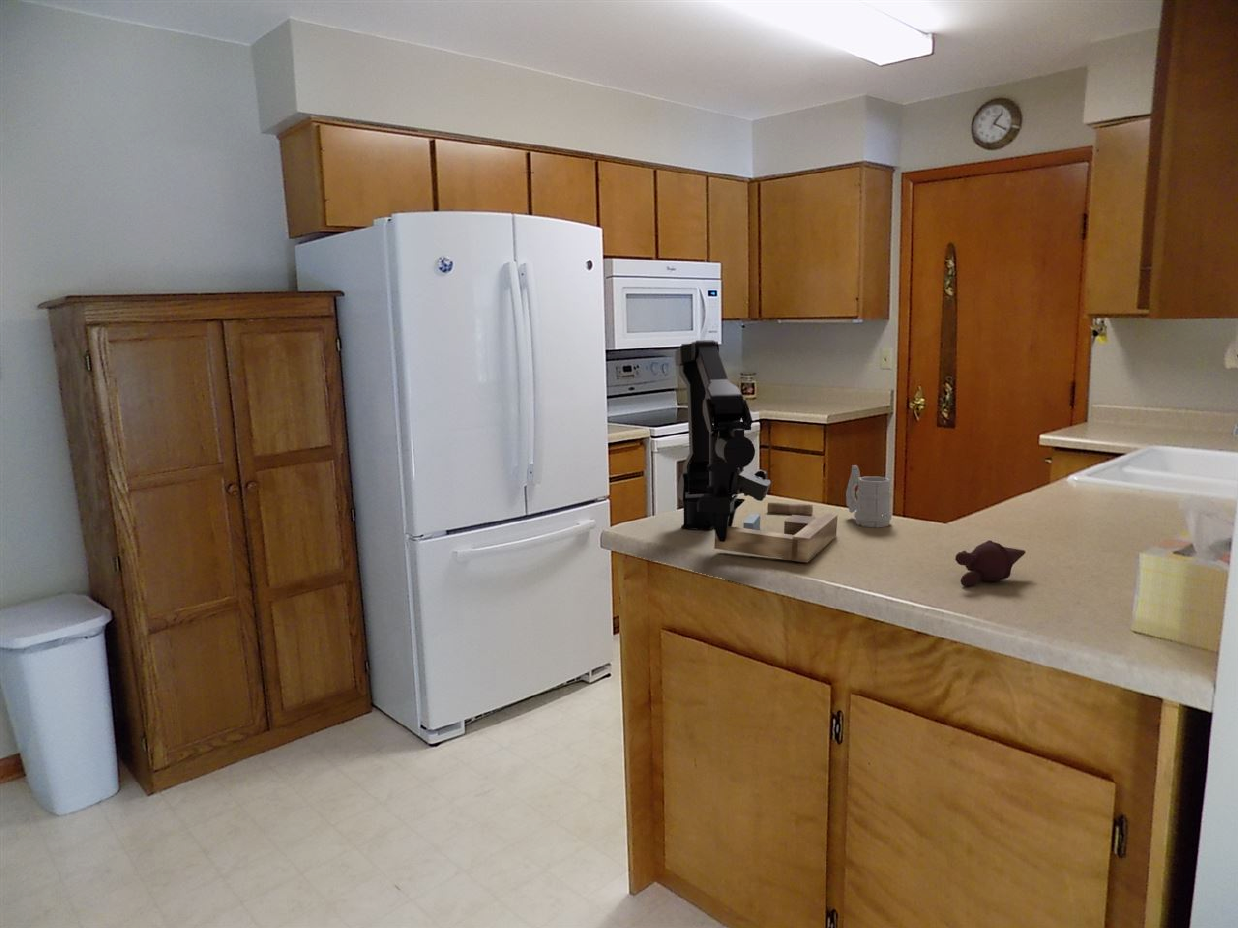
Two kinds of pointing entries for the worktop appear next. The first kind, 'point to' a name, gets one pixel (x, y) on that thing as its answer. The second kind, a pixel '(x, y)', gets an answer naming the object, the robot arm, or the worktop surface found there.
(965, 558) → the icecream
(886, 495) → the mug
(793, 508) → the dowel
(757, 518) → the stop batten
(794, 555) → the wooden l-shaped bracket
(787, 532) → the block
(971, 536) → the worktop surface
